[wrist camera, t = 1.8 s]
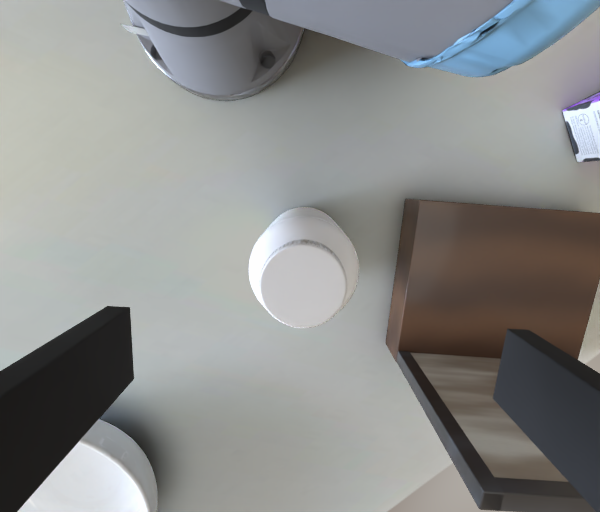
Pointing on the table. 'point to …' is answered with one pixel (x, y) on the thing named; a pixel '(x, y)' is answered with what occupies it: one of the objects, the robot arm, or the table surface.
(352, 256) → the pill bottle
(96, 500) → the serving bowl
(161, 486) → the table surface
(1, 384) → the robot arm
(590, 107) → the candy box
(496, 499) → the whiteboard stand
